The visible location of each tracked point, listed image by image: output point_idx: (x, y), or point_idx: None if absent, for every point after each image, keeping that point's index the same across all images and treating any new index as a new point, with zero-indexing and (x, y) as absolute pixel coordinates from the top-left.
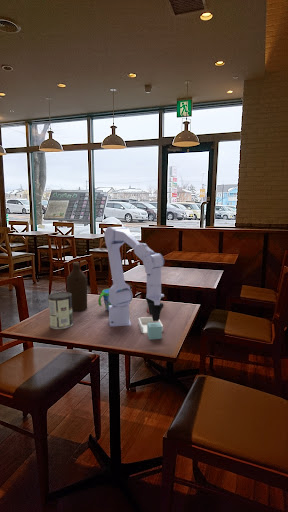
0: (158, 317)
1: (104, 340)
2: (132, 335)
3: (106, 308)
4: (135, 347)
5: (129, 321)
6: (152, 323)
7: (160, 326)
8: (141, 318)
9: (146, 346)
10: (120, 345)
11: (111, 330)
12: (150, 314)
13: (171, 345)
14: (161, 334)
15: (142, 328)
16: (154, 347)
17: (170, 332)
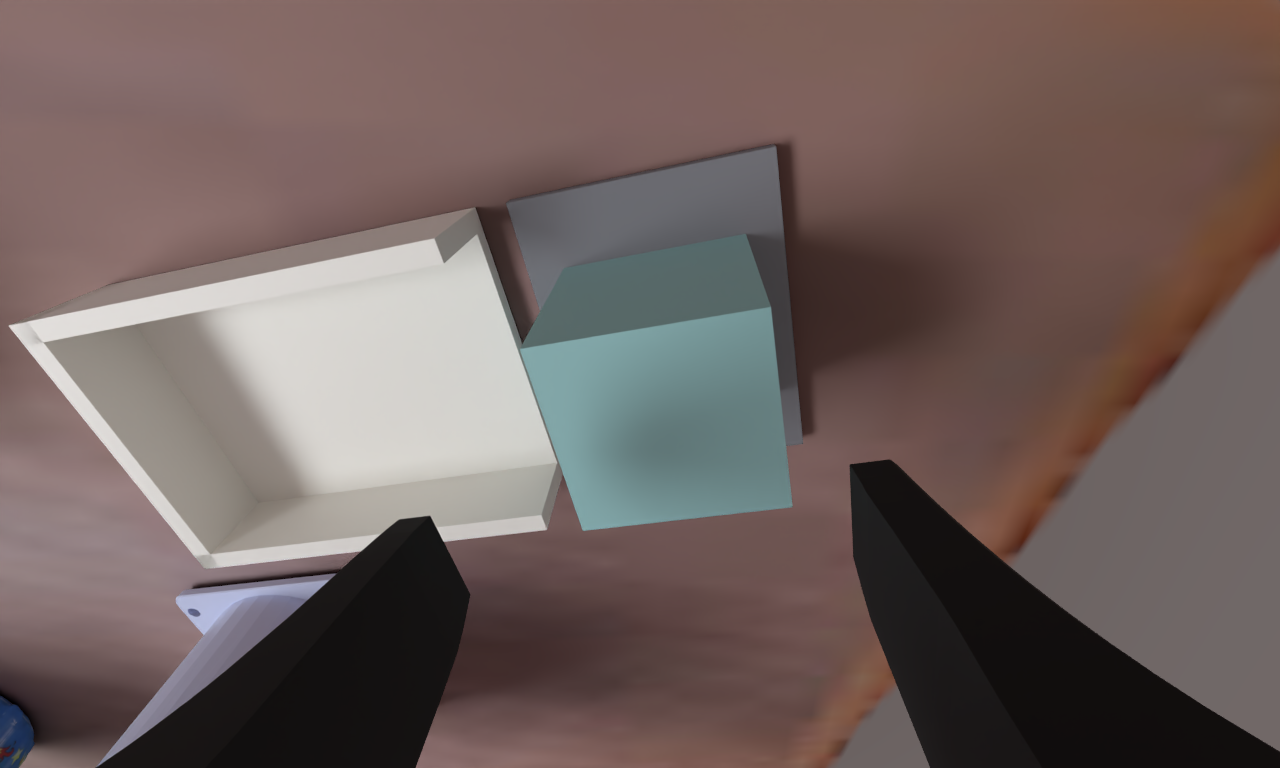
0: (942, 524)
1: (730, 719)
2: (608, 548)
3: (20, 765)
4: None
5: (248, 594)
6: (594, 460)
7: (753, 329)
8: (200, 530)
9: (933, 415)
10: (856, 625)
11: (503, 692)
12: (467, 595)
13: (982, 72)
14: (754, 259)
15: (547, 510)
16: (988, 326)
17: (439, 78)
